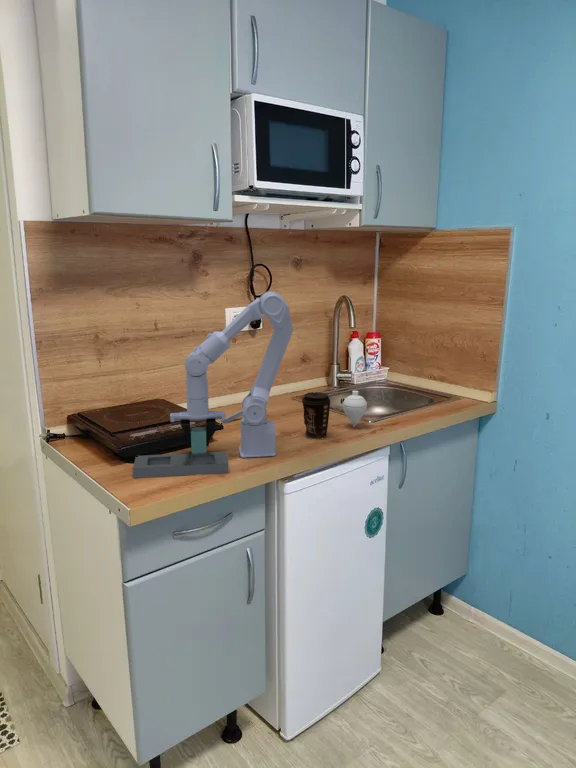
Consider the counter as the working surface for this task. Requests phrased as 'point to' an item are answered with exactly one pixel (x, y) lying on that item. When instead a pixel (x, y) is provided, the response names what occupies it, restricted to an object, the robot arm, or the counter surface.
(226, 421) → the caliper
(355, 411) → the spinning top
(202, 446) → the square peg
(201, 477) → the counter surface
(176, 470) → the peg socket board
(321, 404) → the coffee cup
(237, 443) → the counter surface
